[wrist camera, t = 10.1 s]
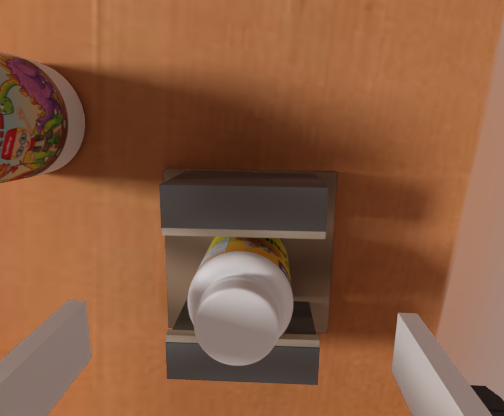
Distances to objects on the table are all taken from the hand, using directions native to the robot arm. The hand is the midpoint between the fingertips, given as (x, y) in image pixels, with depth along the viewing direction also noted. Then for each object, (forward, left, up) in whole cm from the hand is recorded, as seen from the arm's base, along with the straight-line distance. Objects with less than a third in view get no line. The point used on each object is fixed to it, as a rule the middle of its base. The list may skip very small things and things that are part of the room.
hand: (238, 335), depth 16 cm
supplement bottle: (0, 0, -12) cm, 12 cm away
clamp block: (0, 0, -13) cm, 13 cm away
